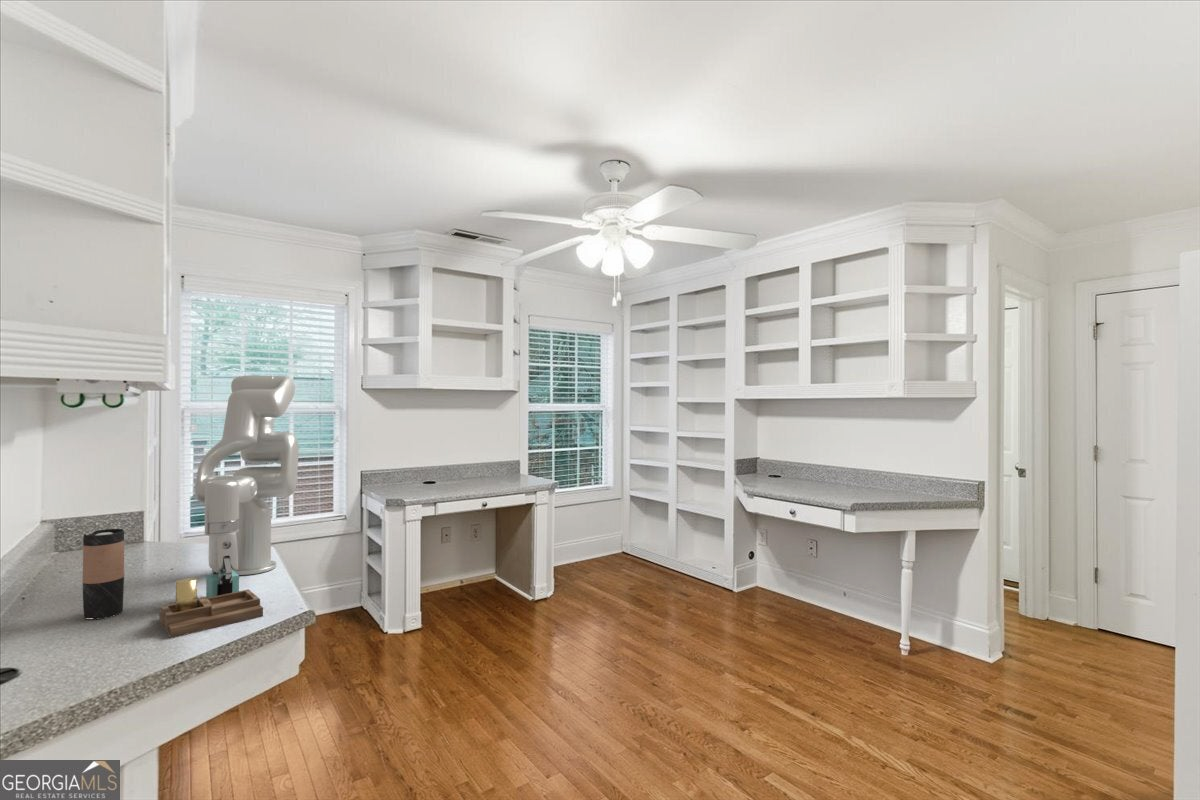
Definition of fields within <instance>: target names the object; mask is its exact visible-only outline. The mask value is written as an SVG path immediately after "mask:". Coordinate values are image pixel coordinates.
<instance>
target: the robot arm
mask: <svg viewBox="0 0 1200 800" xmlns="http://www.w3.org/2000/svg"><path fill="white" fill-rule="evenodd" d="M230 386H231V387H230V388H231V394H230V395H229V397H228V400H227V406H226V412H225V418H224V424H223V430H222V437H221V440H220V441H218V442H217V443H216V444H215V445H214V446H213V447H212V448H210V449H209V450H208V451H207V452H206V454H205V455H204V456H203V457H202V459H201V461H200V463H199V465H198V468H197V472H196V478H195V484H194V498H195V500H197V502H198V503H201V504H203V505H204V535H205V536H208V566H209V568H210V569H211V575H212V574H218V578H219V584H217V596H219V595H224V594H229V593H232V571H234V572H235V573H236V574H238V575H239V576H249V575H256V574H261V573H262V574H263V573H266V572H269V571H272V570H274V569H275V568H276V567H277V561H275V560H272V550H271V549H272V512H271V508H270V506H269V504H268V503H267V502H266V501H265V500H264V499H265V498H283V497H285V498H286V497H291V496H292V495H293V494H294V493H295V492H296V490H297V489H296V488H297V485H298V472H299V471H298V470H299V469H298V468H299V453H300V452H299V450H300V448H299V445H300V444H299V442H298V441H299V440H298V438H297V435H295V434H294V433H292V432H287V431H286V432H285V431H279V432H277V431H274V427H275V426H274V424H275V418H280V417H282V416H283V415H284V414H285V412H286V411H287V410H288V407H289V406H290V405H291V402H292V400H293V399H294V395H295V391H296V386H295V383H294V381H293V379H292V378H291V377H289V376H287V375H258V374H257V375H256V374H253V375H250V374H248V375H247V374H246V375H240V376H237V377H235V378H234V379H232V381H231V385H230ZM239 452H240V457H241V459H242V460H243V461H244V462H247V463H257V464H259V463H279V464H280V465H279V466H275V465H274V466H265V465H264V466H246V467H242V468H239V469H238V470H236V471H235V472H234V473H233V475H213V474H214V471H215V470H216V468H217V466H218V465H219V464H220V463H221V462H222V461H224V459H226V458H228V457H230V456H233V455H235V454H238V453H239ZM222 574H225V575H223V577H222Z"/></svg>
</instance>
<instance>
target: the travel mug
mask: <svg viewBox="0 0 1200 800" xmlns="http://www.w3.org/2000/svg"><path fill="white" fill-rule="evenodd" d="M82 538H83V539H82V541H83V542H82V543H83V544H82V546H83V547H82V548H83V549H82V603H83V604H82V605H83V606H82V608H83V618H84V617H85V618H93V619H96V620H98V619H97V618H103V619H106V618H105V617H108V618H111V616H112V617H114V616H113V615H115V616H117V615H119V613H120V614H121V613H122V612H123V610H124V609H123V608H124V591H125V530H124V529H122V528H108V529H107V528H106V529H98V530H95V531H93V532H92V533H90V534H86V533H84V534H83V537H82Z"/></svg>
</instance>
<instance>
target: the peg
mask: <svg viewBox="0 0 1200 800" xmlns="http://www.w3.org/2000/svg"><path fill="white" fill-rule="evenodd" d="M197 599H198V578H197V577H196V578H195V577H188V578H182V579H178V580H177V581H175V603H176V612H180V611H185V610H190V609H194V608H197Z"/></svg>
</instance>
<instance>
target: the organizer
mask: <svg viewBox="0 0 1200 800" xmlns="http://www.w3.org/2000/svg"><path fill="white" fill-rule="evenodd" d="M158 616H159V618H158V619H159V622H160V623H161V625H162V626H163V627H164V630H165V632H166V633H167V632H168V633H167V634H168V636H169V635H170V636H169V638H171V637H173V638H176V637H175V636H177V637H180V636H179V635H181V636H185V635H188V634H187V633H189V634H193V633H192V632H194V633H196V632H197V631H198V632H201V631H206V630H210V629H214V628H218V627H222V626H226V625H230V624H235V623H234V622H236V623H239V621H240V622H244V621H248V620H251V618H252V619H256V617H257V618H261V617H264V607H263V606H262V605H261V598H259V596H257V594H255V593H254V592H253V591H251V590H250V589H245V590H239V591H238V592H234V593H229V594H224V595H219V596H214V597H209V598H206V597H199V598H197V608H194V609H190V610H185V611H180V612H176V602H175V603H170V604H165V605H161V606H160V610H159V613H158ZM260 616H261V617H260ZM247 619H248V620H247ZM243 620H244V621H243ZM184 634H185V635H184Z"/></svg>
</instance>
